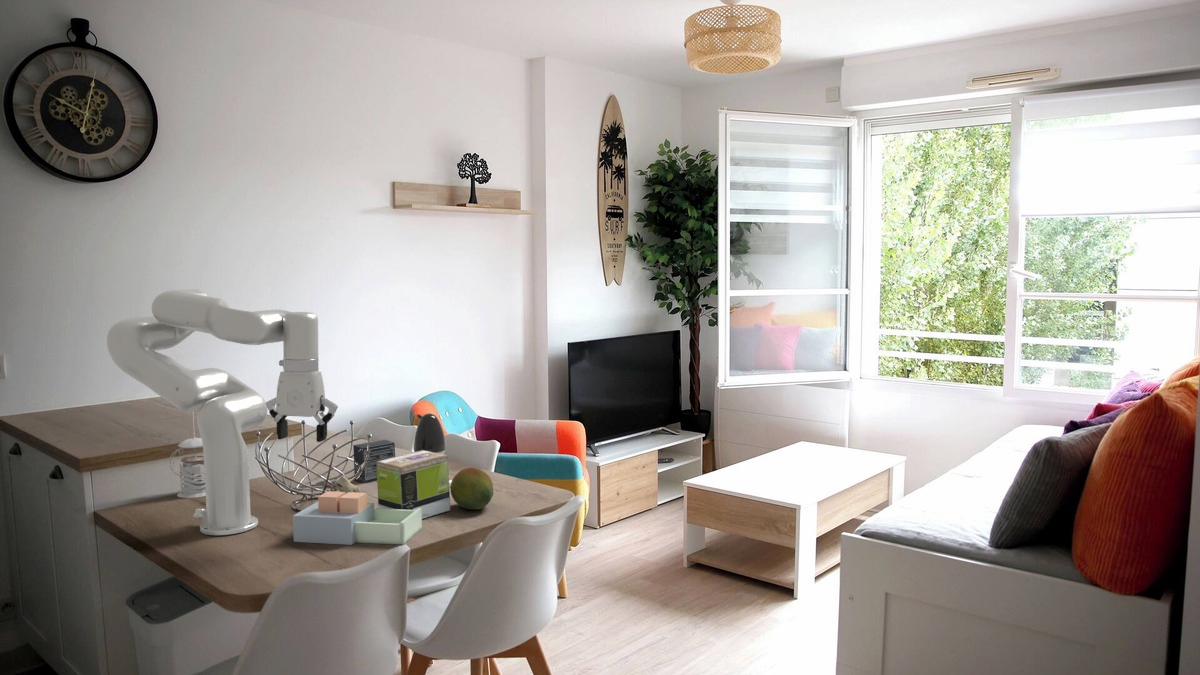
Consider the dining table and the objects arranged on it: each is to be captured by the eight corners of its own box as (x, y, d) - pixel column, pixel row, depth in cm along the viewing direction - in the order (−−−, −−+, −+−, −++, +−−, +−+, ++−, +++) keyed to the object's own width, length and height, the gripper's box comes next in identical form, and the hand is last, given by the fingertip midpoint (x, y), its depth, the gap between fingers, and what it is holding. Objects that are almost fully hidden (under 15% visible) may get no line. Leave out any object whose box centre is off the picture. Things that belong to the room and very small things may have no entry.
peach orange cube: (339, 512, 185) (339, 497, 185) (348, 506, 189) (348, 492, 189) (358, 513, 184) (357, 498, 184) (367, 507, 189) (366, 492, 188)
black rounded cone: (430, 455, 267) (429, 409, 266) (452, 459, 261) (451, 412, 260) (406, 461, 259) (405, 414, 257) (429, 465, 253) (428, 417, 251)
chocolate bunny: (350, 518, 200) (349, 479, 199) (323, 516, 202) (321, 476, 201) (363, 512, 205) (362, 473, 204) (336, 509, 208) (335, 471, 207)
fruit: (478, 498, 217) (477, 461, 216) (507, 508, 208) (507, 469, 207) (441, 507, 209) (440, 469, 208) (470, 518, 200) (469, 478, 199)
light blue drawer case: (293, 541, 183) (292, 515, 183) (320, 524, 195) (319, 500, 195) (351, 544, 181) (351, 518, 181) (374, 527, 193) (374, 503, 192)
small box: (386, 472, 244) (385, 438, 243) (397, 477, 240) (396, 442, 239) (353, 479, 237) (352, 444, 236) (363, 483, 232) (362, 447, 231)
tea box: (425, 504, 212) (424, 448, 211) (451, 511, 206) (449, 454, 204) (377, 518, 200) (375, 459, 199) (402, 526, 194) (400, 465, 193)
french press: (205, 497, 218) (201, 406, 216) (163, 497, 219) (158, 406, 217) (223, 488, 228) (219, 400, 226) (182, 487, 229) (178, 400, 226)
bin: (355, 542, 183) (354, 520, 182) (376, 526, 194) (375, 506, 193) (403, 544, 181) (403, 522, 181) (422, 528, 192) (421, 508, 191)
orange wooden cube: (318, 511, 186) (318, 496, 186) (328, 505, 190) (327, 491, 190) (336, 512, 185) (336, 497, 185) (346, 506, 190) (345, 492, 189)
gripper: (257, 366, 184) (258, 440, 185) (328, 369, 181) (328, 445, 182) (275, 362, 191) (276, 433, 193) (344, 365, 188) (344, 438, 190)
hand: (301, 439), depth 187 cm, fingers open, 9 cm apart
